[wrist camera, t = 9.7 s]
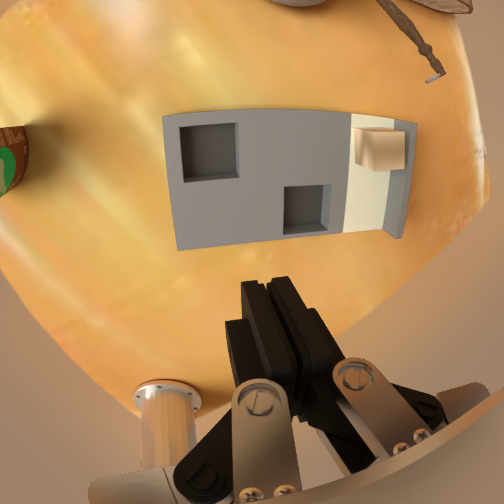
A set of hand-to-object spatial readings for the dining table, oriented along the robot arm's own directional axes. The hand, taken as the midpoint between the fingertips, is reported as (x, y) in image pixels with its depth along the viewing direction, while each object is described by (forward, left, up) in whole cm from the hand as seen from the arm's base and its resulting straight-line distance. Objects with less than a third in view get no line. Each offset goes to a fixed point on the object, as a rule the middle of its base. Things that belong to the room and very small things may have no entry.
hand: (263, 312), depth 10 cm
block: (+4, -17, -19) cm, 26 cm away
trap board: (0, -8, -22) cm, 23 cm away
